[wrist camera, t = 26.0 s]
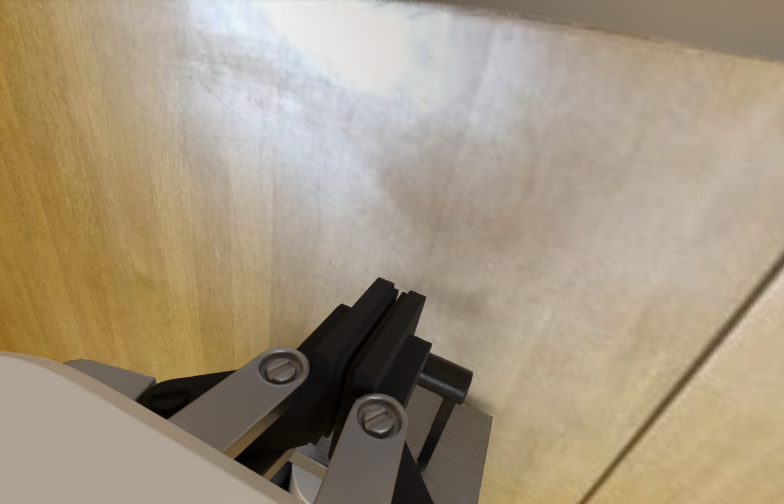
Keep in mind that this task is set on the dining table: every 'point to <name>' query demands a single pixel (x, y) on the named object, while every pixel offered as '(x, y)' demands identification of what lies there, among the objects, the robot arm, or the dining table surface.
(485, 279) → the dining table surface
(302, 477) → the white cylindrical puck
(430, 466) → the drawer
